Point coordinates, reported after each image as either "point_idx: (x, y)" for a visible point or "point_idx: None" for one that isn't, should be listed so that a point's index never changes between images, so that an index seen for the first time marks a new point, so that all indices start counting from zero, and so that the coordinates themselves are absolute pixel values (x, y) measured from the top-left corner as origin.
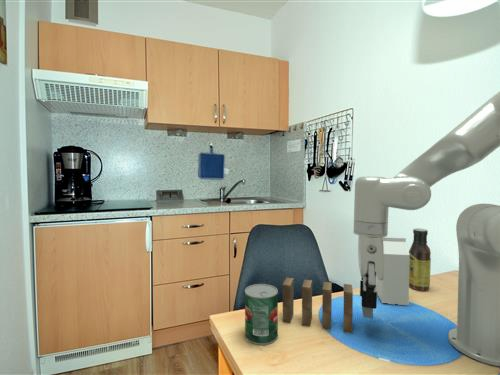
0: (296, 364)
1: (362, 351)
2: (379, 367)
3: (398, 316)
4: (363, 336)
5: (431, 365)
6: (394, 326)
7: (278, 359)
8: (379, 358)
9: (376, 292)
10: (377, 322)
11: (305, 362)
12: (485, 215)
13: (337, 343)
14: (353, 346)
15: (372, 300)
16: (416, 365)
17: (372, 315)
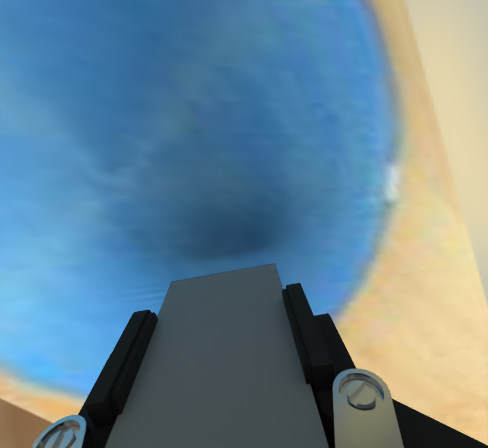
0: (482, 376)
1: (371, 248)
2: (441, 193)
3: (19, 140)
4: (277, 256)
5: (375, 10)
6: (134, 155)
7: (472, 410)
8: (393, 196)
9: (331, 363)
10: (141, 222)
11: (469, 362)
12: None
13: (354, 317)
14: (353, 275)
15: (338, 337)
16: (394, 72)
17: (276, 272)
